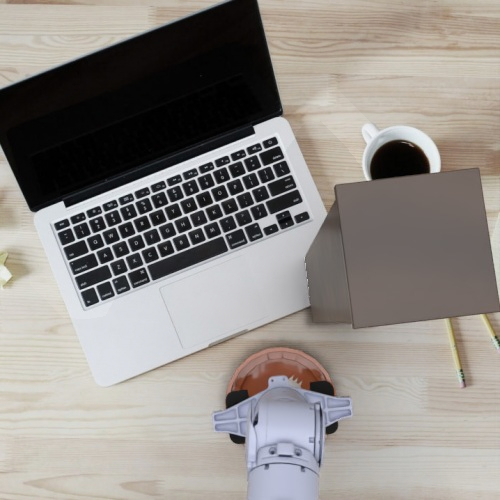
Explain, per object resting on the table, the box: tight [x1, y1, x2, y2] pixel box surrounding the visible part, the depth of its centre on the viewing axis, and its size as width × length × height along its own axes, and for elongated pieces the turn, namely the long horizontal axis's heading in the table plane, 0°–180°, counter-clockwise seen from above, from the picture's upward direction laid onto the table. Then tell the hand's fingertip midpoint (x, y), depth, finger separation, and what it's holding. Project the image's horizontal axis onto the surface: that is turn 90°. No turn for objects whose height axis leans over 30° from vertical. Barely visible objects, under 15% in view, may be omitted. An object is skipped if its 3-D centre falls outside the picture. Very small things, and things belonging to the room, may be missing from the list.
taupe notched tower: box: [304, 166, 500, 330], centre depth 65 cm, size 9×9×47 cm
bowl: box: [224, 345, 337, 448], centre depth 85 cm, size 13×13×4 cm
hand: (281, 404), depth 83 cm, fingers closed on toy creature, 6 cm apart
